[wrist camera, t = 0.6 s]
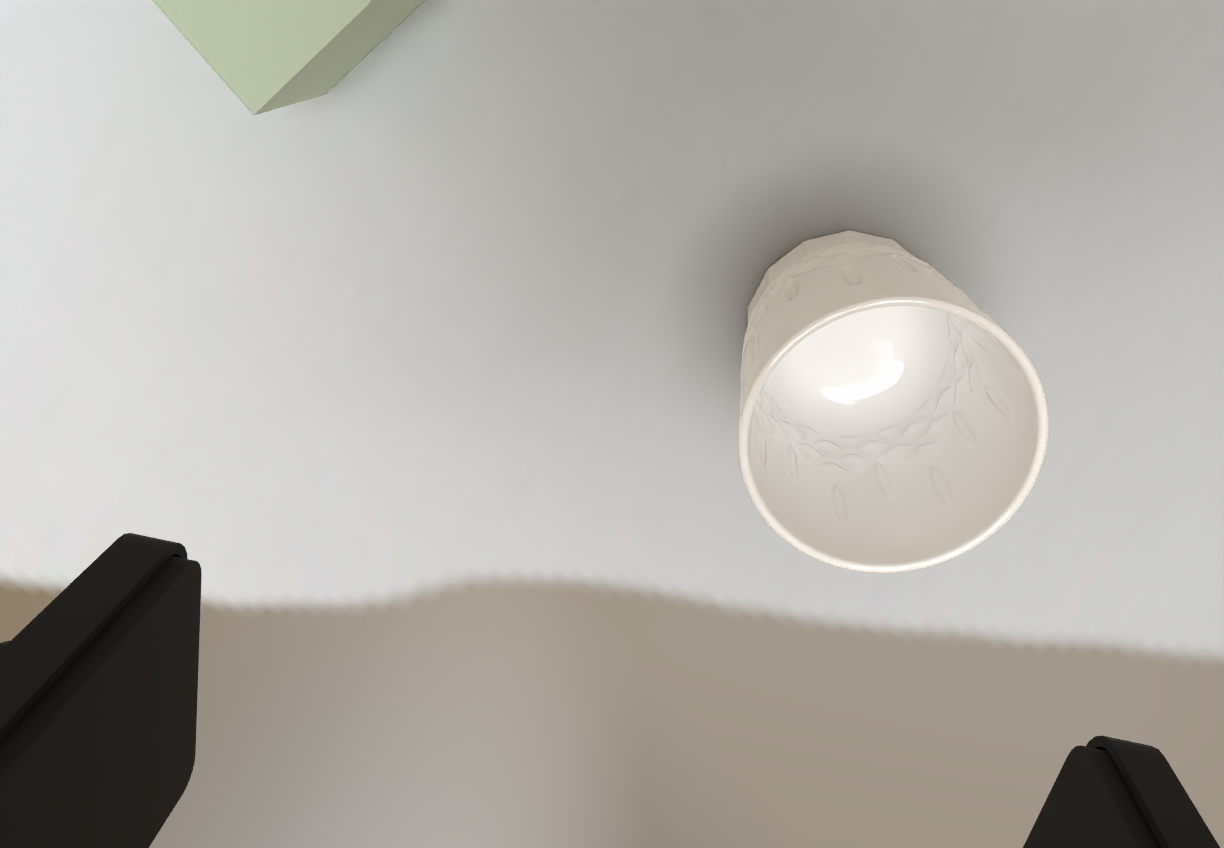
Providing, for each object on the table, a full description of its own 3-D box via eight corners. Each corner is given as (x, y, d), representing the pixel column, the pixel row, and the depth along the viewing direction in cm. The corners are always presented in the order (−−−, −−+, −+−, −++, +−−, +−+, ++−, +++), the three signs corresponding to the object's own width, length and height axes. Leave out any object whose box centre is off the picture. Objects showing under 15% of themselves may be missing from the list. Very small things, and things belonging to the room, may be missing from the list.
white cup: (1007, 306, 35) (1116, 422, 26) (850, 467, 38) (898, 623, 28) (832, 164, 33) (882, 232, 24) (683, 342, 36) (677, 464, 27)
